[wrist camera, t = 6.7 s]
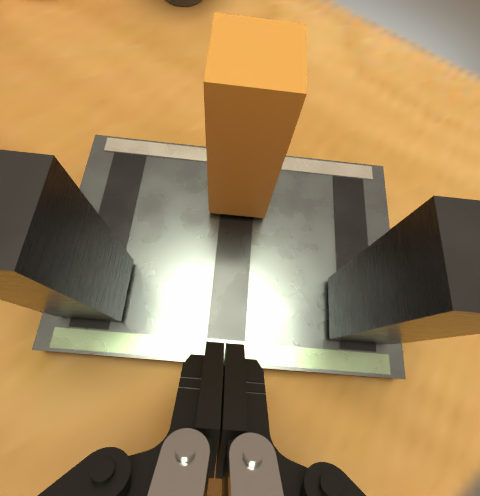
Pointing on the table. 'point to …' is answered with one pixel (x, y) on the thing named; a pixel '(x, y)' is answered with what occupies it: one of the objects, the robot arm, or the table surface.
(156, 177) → the panel
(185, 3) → the beverage cup
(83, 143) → the table surface
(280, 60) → the handle
